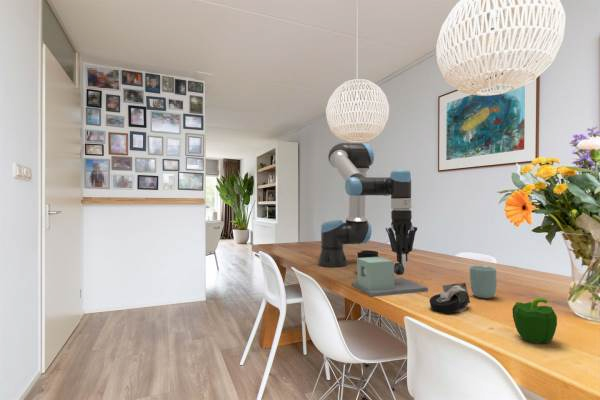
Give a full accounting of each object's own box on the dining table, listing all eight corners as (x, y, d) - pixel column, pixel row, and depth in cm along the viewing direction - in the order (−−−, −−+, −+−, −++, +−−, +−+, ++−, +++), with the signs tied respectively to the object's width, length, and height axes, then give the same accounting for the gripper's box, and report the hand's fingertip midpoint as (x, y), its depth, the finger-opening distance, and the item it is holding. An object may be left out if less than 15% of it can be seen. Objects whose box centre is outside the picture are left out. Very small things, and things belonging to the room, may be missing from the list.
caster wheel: (433, 321, 92) (431, 305, 101) (475, 318, 88) (470, 302, 97) (428, 299, 92) (426, 286, 101) (470, 295, 87) (465, 281, 97)
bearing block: (351, 285, 124) (351, 257, 124) (402, 280, 130) (402, 253, 130) (371, 296, 108) (370, 264, 109) (427, 290, 114) (427, 260, 115)
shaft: (361, 276, 119) (361, 264, 119) (397, 273, 123) (397, 261, 123) (367, 279, 114) (367, 266, 114) (404, 275, 118) (404, 263, 118)
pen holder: (354, 271, 148) (354, 250, 148) (373, 270, 150) (373, 250, 150) (362, 276, 139) (361, 253, 139) (381, 275, 141) (381, 253, 141)
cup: (489, 293, 110) (488, 265, 110) (501, 300, 102) (500, 270, 102) (466, 293, 110) (465, 265, 111) (476, 300, 103) (476, 270, 103)
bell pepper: (505, 337, 75) (504, 295, 75) (522, 329, 79) (521, 290, 79) (547, 351, 67) (546, 305, 67) (563, 342, 72) (562, 298, 72)
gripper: (391, 210, 116) (392, 273, 116) (421, 209, 119) (422, 271, 119) (381, 209, 123) (382, 269, 123) (409, 209, 127) (410, 267, 126)
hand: (402, 270), depth 121 cm, fingers closed
